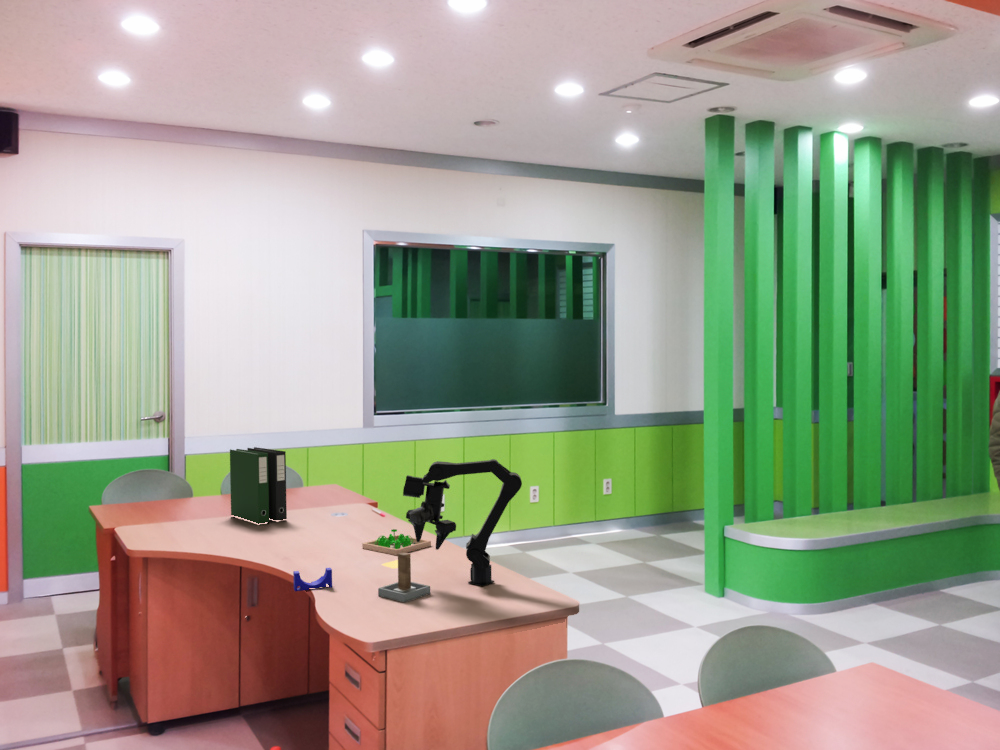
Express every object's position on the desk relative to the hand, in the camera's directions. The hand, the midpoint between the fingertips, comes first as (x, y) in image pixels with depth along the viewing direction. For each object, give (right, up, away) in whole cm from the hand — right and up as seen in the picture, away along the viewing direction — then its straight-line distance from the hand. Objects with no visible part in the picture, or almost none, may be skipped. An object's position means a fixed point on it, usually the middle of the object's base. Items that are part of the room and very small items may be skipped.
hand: (427, 545), depth 283 cm
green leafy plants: (-18, -12, +54) cm, 58 cm away
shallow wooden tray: (-17, -11, +53) cm, 57 cm away
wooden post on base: (-6, -13, -13) cm, 19 cm away
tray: (-6, -13, -13) cm, 19 cm away
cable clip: (-38, -14, -3) cm, 40 cm away
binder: (-88, -10, +112) cm, 143 cm away
